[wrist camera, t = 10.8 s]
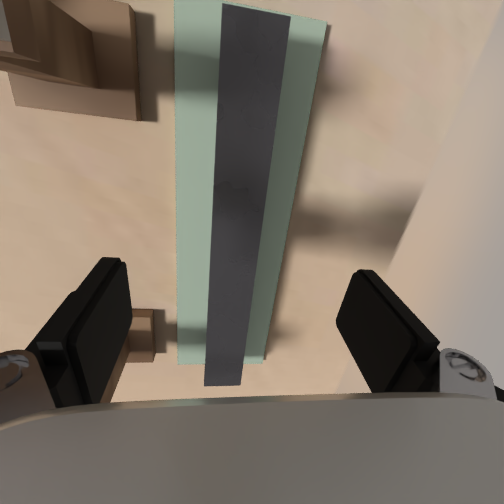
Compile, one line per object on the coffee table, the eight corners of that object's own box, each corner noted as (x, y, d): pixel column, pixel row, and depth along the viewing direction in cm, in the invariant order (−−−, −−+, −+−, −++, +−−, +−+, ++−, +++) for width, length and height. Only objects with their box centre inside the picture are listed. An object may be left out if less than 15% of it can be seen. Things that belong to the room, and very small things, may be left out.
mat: (175, -7, 13) (173, -10, 13) (324, 23, 14) (327, 21, 14) (178, 360, 24) (177, 364, 24) (261, 360, 25) (262, 363, 25)
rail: (221, 26, 13) (222, 3, 11) (277, 37, 14) (291, 16, 11) (205, 356, 24) (204, 386, 21) (237, 356, 24) (240, 385, 22)
